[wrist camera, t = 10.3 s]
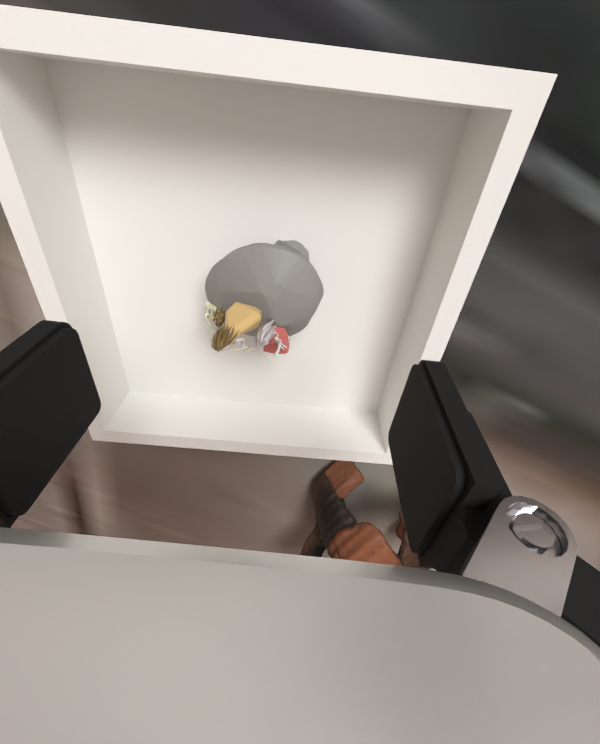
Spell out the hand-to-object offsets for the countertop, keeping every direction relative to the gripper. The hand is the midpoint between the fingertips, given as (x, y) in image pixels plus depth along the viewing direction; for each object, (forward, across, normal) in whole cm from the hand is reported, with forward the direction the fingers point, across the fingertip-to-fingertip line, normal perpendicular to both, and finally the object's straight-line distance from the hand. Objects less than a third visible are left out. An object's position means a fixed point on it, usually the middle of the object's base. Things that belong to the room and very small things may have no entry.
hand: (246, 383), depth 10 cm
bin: (+8, +1, 0) cm, 8 cm away
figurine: (+7, 0, 0) cm, 7 cm away
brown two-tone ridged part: (+8, -8, +17) cm, 20 cm away
